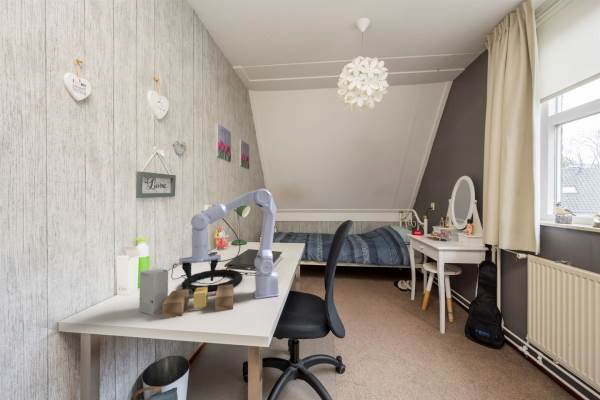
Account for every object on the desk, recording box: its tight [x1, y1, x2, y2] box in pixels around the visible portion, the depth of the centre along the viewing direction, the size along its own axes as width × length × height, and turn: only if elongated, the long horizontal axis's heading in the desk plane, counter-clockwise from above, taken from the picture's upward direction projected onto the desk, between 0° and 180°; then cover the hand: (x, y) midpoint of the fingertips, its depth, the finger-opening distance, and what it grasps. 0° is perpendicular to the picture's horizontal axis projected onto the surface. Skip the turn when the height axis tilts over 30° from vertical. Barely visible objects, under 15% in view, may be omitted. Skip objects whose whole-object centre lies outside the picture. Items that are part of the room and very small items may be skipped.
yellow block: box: [193, 287, 209, 309], centre depth 89 cm, size 4×6×5 cm, turn 14°
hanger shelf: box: [162, 284, 235, 319], centre depth 89 cm, size 23×12×5 cm, turn 104°
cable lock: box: [181, 268, 244, 294], centre depth 112 cm, size 28×4×30 cm
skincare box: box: [138, 267, 169, 316], centre depth 87 cm, size 8×6×15 cm
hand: (201, 281), depth 89 cm, fingers open, 7 cm apart
